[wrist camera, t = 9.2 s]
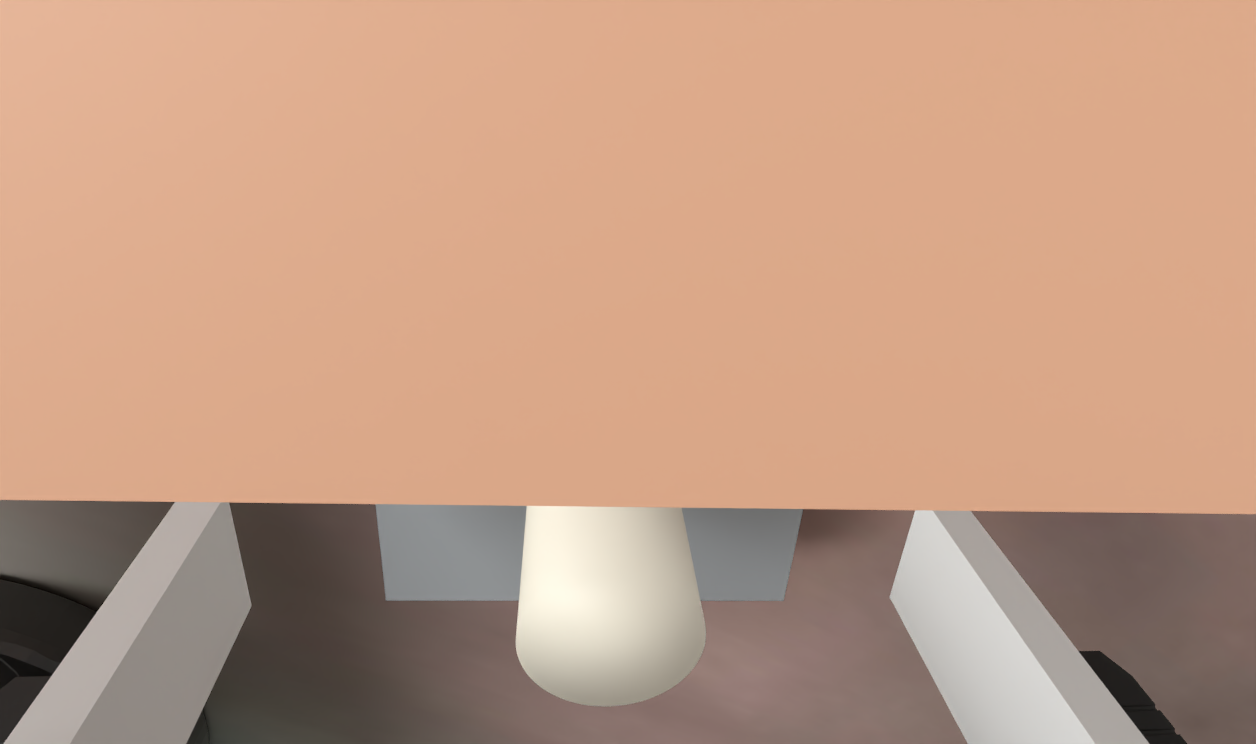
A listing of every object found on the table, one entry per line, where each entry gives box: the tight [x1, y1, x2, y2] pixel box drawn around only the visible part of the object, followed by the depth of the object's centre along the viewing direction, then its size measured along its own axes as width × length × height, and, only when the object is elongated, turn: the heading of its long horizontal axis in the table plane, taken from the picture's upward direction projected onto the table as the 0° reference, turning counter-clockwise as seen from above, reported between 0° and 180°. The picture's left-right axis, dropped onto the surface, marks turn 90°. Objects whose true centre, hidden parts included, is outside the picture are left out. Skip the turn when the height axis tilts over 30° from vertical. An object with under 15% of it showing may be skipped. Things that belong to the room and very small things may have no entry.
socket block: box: [375, 504, 803, 601], centre depth 21 cm, size 12×16×4 cm
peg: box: [516, 506, 706, 707], centre depth 18 cm, size 3×3×12 cm
